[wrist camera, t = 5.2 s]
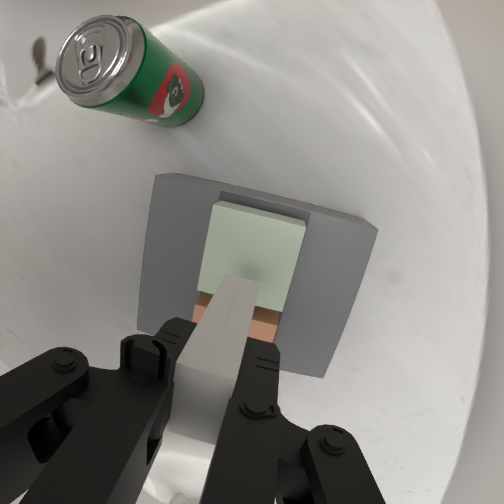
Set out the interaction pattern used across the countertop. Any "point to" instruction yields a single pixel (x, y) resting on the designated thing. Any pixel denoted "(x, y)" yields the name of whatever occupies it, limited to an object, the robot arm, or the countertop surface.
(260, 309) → the rust key
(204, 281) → the sage key
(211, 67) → the countertop surface
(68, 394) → the robot arm
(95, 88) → the soda can
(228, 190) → the button panel
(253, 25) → the countertop surface
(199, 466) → the white floating cup sculpture
